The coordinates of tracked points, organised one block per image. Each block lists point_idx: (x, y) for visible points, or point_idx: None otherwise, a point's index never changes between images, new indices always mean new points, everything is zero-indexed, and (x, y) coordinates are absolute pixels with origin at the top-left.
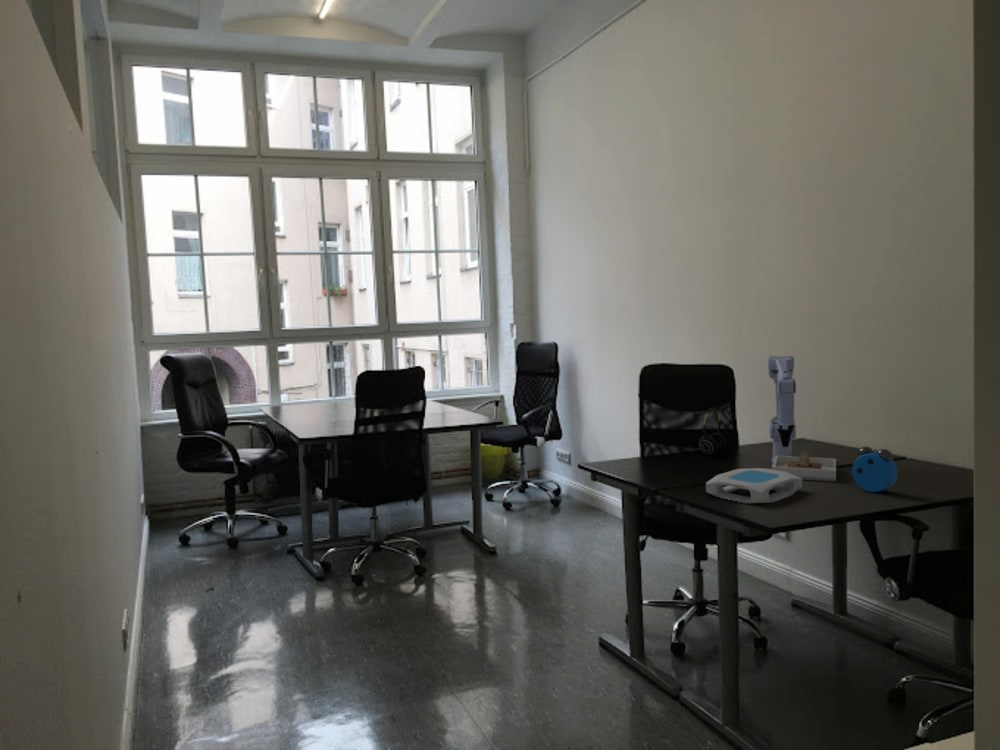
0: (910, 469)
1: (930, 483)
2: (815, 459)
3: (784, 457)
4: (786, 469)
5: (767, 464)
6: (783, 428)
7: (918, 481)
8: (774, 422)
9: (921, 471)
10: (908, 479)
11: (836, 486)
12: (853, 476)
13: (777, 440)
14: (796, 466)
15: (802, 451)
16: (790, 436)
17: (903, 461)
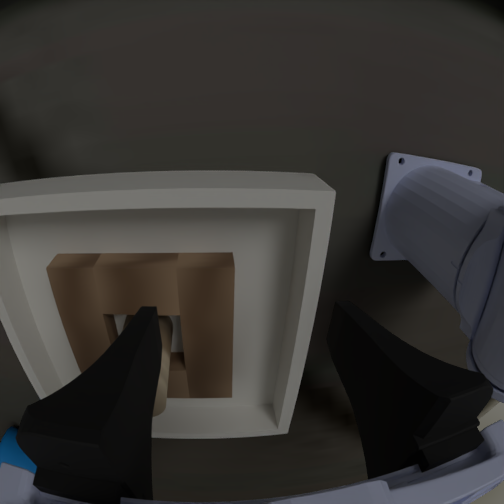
0: (303, 484)
1: (169, 500)
2: (286, 381)
3: (309, 247)
4: None
5: (339, 127)
6: (5, 477)
7: (178, 494)
8: None
9: (285, 493)
10: (190, 489)
11: (12, 387)
12: (2, 438)
13: (476, 239)
14: (98, 312)
15: (159, 395)
16: (347, 393)
17: None
